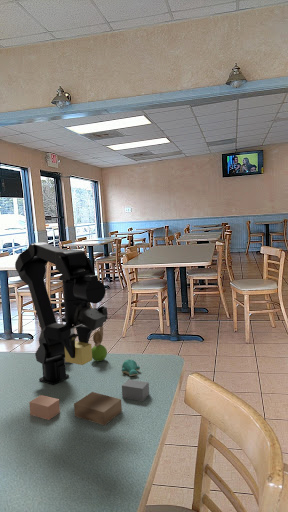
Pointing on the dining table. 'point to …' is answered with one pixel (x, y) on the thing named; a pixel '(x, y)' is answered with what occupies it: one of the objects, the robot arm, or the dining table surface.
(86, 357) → the mustard brick
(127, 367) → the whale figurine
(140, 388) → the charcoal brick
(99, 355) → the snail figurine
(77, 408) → the walnut block
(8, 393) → the dining table surface
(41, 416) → the terracotta brick
